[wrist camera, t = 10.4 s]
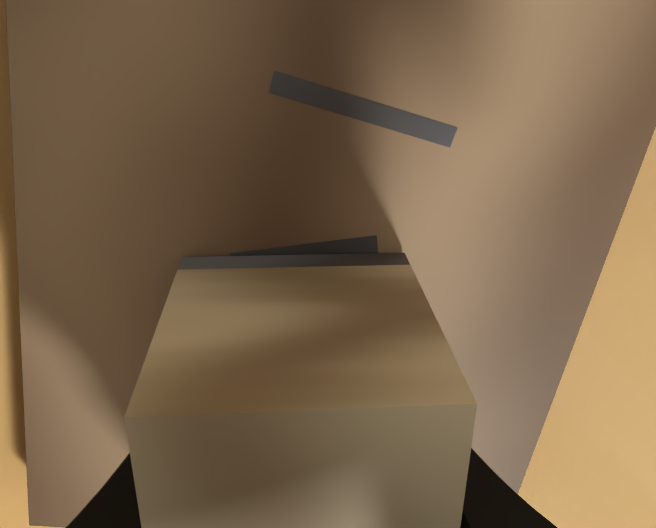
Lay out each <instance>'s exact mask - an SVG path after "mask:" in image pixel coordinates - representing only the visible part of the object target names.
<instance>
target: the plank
mask: <svg viewBox="0 0 656 528" xmlns="http://www.w3.org/2000/svg"><path fill="white" fill-rule="evenodd" d="M6 18H7V40H8V62H9V85H10V107H11V130H12V152H13V174H14V197H15V219H16V241H17V264H18V286H19V308H20V331H21V353H22V375H23V398H24V420H25V442H26V465H27V487H28V509H29V525H33V526H51V527H67V526H68V525H69V524H70V522H71V521H72V520H73V519H74V518H75V517H76V516H77V515H78V514H79V513H80V512H81V510H82V509H83V508H84V507H85V506H86V505H87V504H88V503H89V501H90V500H91V499H92V498H93V497H94V496H95V495H96V494H97V492H98V491H99V490H100V489H101V488H102V487H103V485H104V484H105V483H106V482H107V481H108V479H109V478H110V477H111V476H112V474H113V473H114V472H115V470H116V469H117V468H118V467H119V465H120V464H121V463H122V462H123V460H124V459H125V458H126V457H127V455H128V454H129V453H130V451H129V445H128V438H127V432H126V426H125V419H124V416H125V414H126V411H127V408H128V405H129V403H130V400H131V397H132V394H133V391H134V389H135V386H136V383H137V380H138V378H139V375H140V372H141V369H142V366H143V364H144V361H145V358H146V355H147V353H148V350H149V347H150V344H151V341H152V339H153V336H154V333H155V330H156V328H157V325H158V322H159V319H160V317H161V314H162V311H163V308H164V305H165V303H166V300H167V297H168V294H169V292H170V289H171V286H172V283H173V280H174V278H175V275H176V272H177V269H178V267H179V264H180V261H181V258H182V257H207V256H259V255H310V254H362V253H405V255H406V257H407V259H408V261H409V263H410V265H411V267H412V269H413V271H414V273H415V275H416V277H417V279H418V282H419V284H420V286H421V288H422V290H423V292H424V294H425V296H426V298H427V300H428V302H429V304H430V307H431V309H432V311H433V313H434V315H435V317H436V319H437V321H438V323H439V325H440V327H441V329H442V331H443V334H444V336H445V338H446V340H447V342H448V344H449V346H450V348H451V350H452V352H453V354H454V356H455V359H456V361H457V363H458V365H459V367H460V369H461V371H462V373H463V375H464V377H465V379H466V381H467V384H468V386H469V388H470V390H471V392H472V394H473V396H474V398H475V400H476V402H477V409H476V417H475V424H474V431H473V439H472V446H471V448H472V449H473V450H474V451H475V452H476V453H477V454H478V455H479V456H480V457H481V458H482V459H483V461H484V462H485V463H486V464H487V465H488V466H489V467H490V468H491V469H492V470H493V471H494V472H495V473H496V474H497V475H498V476H499V477H500V478H501V479H502V480H503V481H504V482H505V483H506V484H507V485H508V486H509V487H510V488H511V489H513V490H514V491H515V492H516V493H517V494H518V492H519V489H520V486H521V484H522V481H523V478H524V476H525V473H526V470H527V468H528V465H529V462H530V460H531V457H532V454H533V452H534V449H535V446H536V444H537V441H538V438H539V436H540V433H541V430H542V428H543V425H544V422H545V420H546V417H547V414H548V412H549V409H550V406H551V404H552V401H553V398H554V396H555V393H556V390H557V388H558V385H559V382H560V380H561V377H562V374H563V372H564V369H565V366H566V364H567V361H568V358H569V356H570V353H571V350H572V348H573V345H574V342H575V340H576V337H577V334H578V332H579V329H580V327H581V324H582V321H583V319H584V316H585V313H586V311H587V308H588V305H589V303H590V300H591V297H592V295H593V292H594V289H595V287H596V284H597V281H598V279H599V276H600V273H601V271H602V268H603V265H604V263H605V260H606V257H607V255H608V252H609V249H610V247H611V244H612V241H613V239H614V236H615V233H616V231H617V228H618V225H619V223H620V220H621V217H622V215H623V212H624V209H625V207H626V204H627V201H628V199H629V196H630V193H631V191H632V188H633V185H634V183H635V180H636V177H637V175H638V172H639V169H640V167H641V164H642V161H643V159H644V156H645V154H646V151H647V148H648V146H649V143H650V140H651V138H652V135H653V132H654V130H655V127H656V0H6Z"/></svg>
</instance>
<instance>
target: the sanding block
mask: <svg viewBox="0 0 656 528" xmlns="http://www.w3.org/2000/svg"><path fill="white" fill-rule="evenodd" d="M476 409H477V402H476V400H475V398H474V396H473V394H472V392H471V390H470V388H469V386H468V384H467V381H466V379H465V377H464V375H463V373H462V371H461V369H460V367H459V365H458V363H457V361H456V359H455V356H454V354H453V352H452V350H451V348H450V346H449V344H448V342H447V340H446V338H445V336H444V334H443V331H442V329H441V327H440V325H439V323H438V321H437V319H436V317H435V315H434V313H433V311H432V309H431V307H430V304H429V302H428V300H427V298H426V296H425V294H424V292H423V290H422V288H421V286H420V284H419V282H418V279H417V277H416V275H415V273H414V271H413V269H412V267H411V265H410V263H409V261H408V259H407V257H406V255H405V253H362V254H310V255H259V256H207V257H182V258H181V261H180V264H179V267H178V269H177V272H176V275H175V278H174V280H173V283H172V286H171V289H170V292H169V294H168V297H167V300H166V303H165V305H164V308H163V311H162V314H161V317H160V319H159V322H158V325H157V328H156V330H155V333H154V336H153V339H152V341H151V344H150V347H149V350H148V353H147V355H146V358H145V361H144V364H143V366H142V369H141V372H140V375H139V378H138V380H137V383H136V386H135V389H134V391H133V394H132V397H131V400H130V403H129V405H128V408H127V411H126V414H125V416H124V419H125V426H126V432H127V438H128V445H129V451H130V457H131V464H132V470H133V476H134V483H135V489H136V496H137V502H138V508H139V515H140V521H141V527H142V528H460V526H461V519H462V511H463V504H464V497H465V489H466V482H467V475H468V468H469V460H470V453H471V446H472V439H473V431H474V424H475V417H476Z"/></svg>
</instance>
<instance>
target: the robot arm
mask: <svg viewBox="0 0 656 528" xmlns="http://www.w3.org/2000/svg"><path fill="white" fill-rule="evenodd" d="M66 528H142V527H141V521H140V515H139V508H138V502H137V496H136V489H135V483H134V476H133V470H132V464H131V457H130V453H129V454H128V455H127V457H126V458H125V459H124V460H123V462H122V463H121V464H120V465H119V467H118V468H117V469H116V470H115V472H114V473H113V474H112V476H111V477H110V478H109V479H108V481H107V482H106V483H105V484H104V485H103V487H102V488H101V489H100V490H99V491H98V492H97V494H96V495H95V496H94V497H93V498H92V499H91V500H90V501H89V503H88V504H87V505H86V506H85V507H84V508H83V509H82V510H81V512H80V513H79V514H78V515H77V516H76V517H75V518H74V519H73V520H72V521H71V522H70V524H69V525H68V526H67V527H66ZM460 528H557V527H556V526H555V525H553V524H552V523H551V522H550V521H548V520H547V519H546V518H545V517H543V516H542V515H541V514H540V513H538V512H537V511H536V510H535V509H534V508H532V507H531V506H530V505H529V504H528V503H527V502H526V501H524V500H523V499H522V498H521V497H520V496H519V495H518V494H517V493H516V492H515V491H514V490H513V489H511V488H510V487H509V486H508V485H507V484H506V483H505V482H504V481H503V480H502V479H501V478H500V477H499V476H498V475H497V474H496V473H495V472H494V471H493V470H492V469H491V468H490V467H489V466H488V465H487V464H486V463H485V462H484V461H483V459H482V458H481V457H480V456H479V455H478V454H477V453H476V452H475V451H474V450H473V449H472V448H471V453H470V460H469V468H468V475H467V482H466V489H465V497H464V504H463V511H462V519H461V526H460Z"/></svg>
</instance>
